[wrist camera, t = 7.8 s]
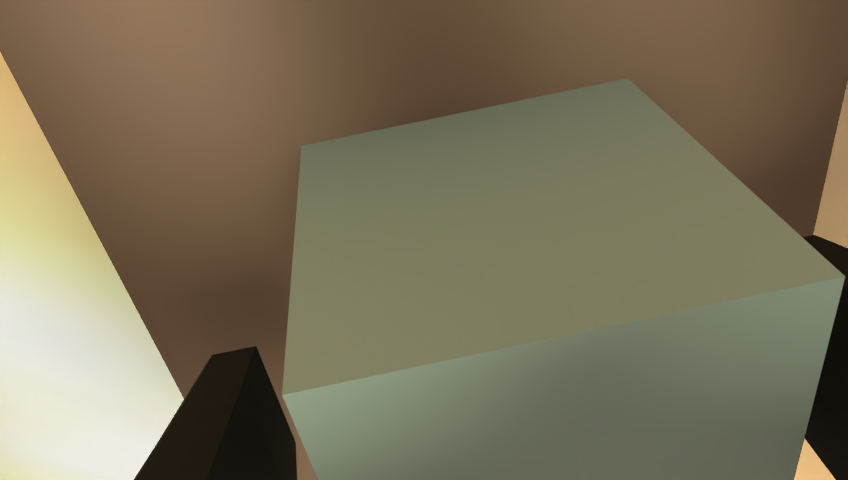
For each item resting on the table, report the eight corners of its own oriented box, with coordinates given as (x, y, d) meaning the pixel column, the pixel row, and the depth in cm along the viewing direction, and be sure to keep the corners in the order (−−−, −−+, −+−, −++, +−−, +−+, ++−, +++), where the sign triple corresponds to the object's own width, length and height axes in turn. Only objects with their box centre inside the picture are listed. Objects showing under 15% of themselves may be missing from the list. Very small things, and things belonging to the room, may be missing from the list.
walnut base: (778, -228, 10) (918, -238, 8) (708, 326, 17) (772, 413, 15) (37, -88, 10) (-55, -54, 8) (260, 416, 17) (248, 520, 15)
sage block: (627, 78, 10) (845, 276, 6) (625, 323, 13) (769, 576, 9) (301, 145, 10) (281, 394, 6) (371, 377, 13) (393, 656, 8)
